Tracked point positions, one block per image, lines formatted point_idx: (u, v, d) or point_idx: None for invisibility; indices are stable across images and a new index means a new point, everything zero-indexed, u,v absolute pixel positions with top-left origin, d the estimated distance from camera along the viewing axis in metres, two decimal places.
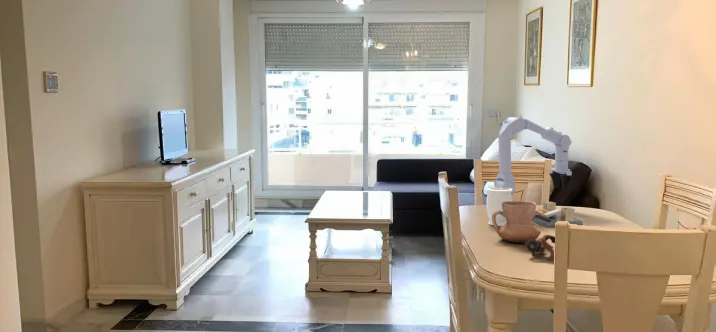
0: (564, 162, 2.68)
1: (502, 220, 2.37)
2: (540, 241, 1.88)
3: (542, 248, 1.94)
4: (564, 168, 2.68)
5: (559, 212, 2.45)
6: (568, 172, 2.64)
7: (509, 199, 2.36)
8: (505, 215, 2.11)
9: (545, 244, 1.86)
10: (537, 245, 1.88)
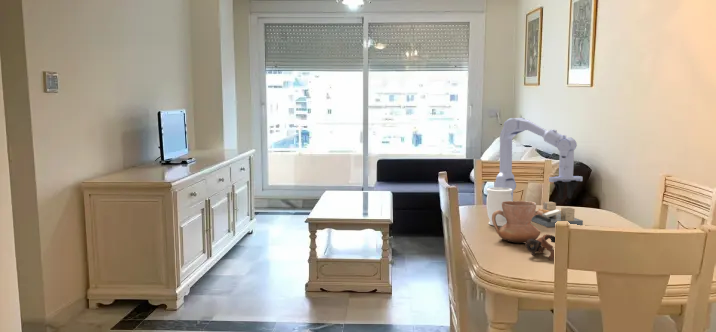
0: (559, 168, 2.44)
1: (502, 220, 2.37)
2: (540, 241, 1.89)
3: (542, 248, 1.95)
4: (559, 175, 2.45)
5: (559, 212, 2.45)
6: (549, 178, 2.44)
7: (509, 199, 2.36)
8: (505, 215, 2.11)
9: (545, 243, 1.87)
10: (537, 245, 1.88)
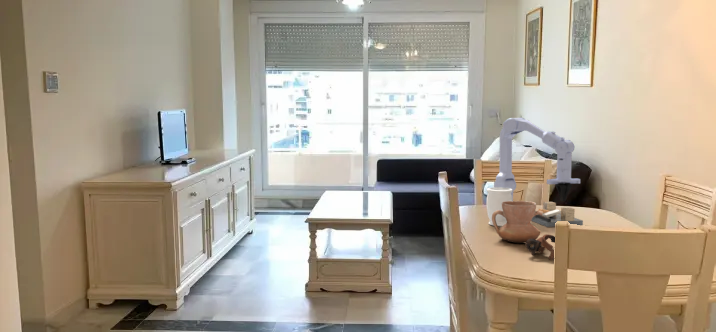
0: (557, 170, 2.44)
1: (502, 220, 2.37)
2: (540, 240, 1.89)
3: (542, 247, 1.95)
4: (557, 177, 2.45)
5: (559, 212, 2.45)
6: (547, 180, 2.44)
7: (509, 199, 2.36)
8: (505, 215, 2.11)
9: (545, 243, 1.87)
10: (537, 244, 1.88)
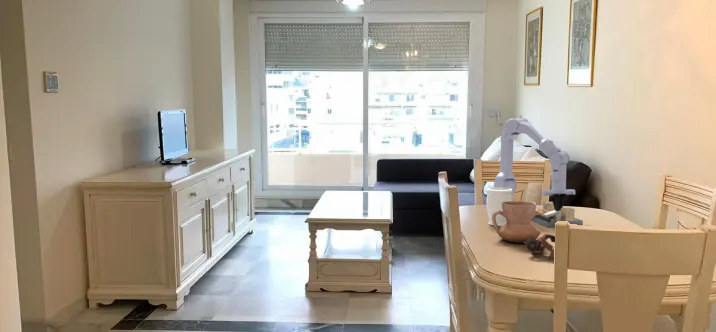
0: (552, 182, 2.44)
1: (502, 220, 2.37)
2: (540, 240, 1.89)
3: (542, 247, 1.95)
4: (552, 188, 2.45)
5: (559, 212, 2.45)
6: (542, 192, 2.44)
7: (509, 199, 2.36)
8: (505, 215, 2.11)
9: (545, 243, 1.87)
10: (537, 244, 1.89)
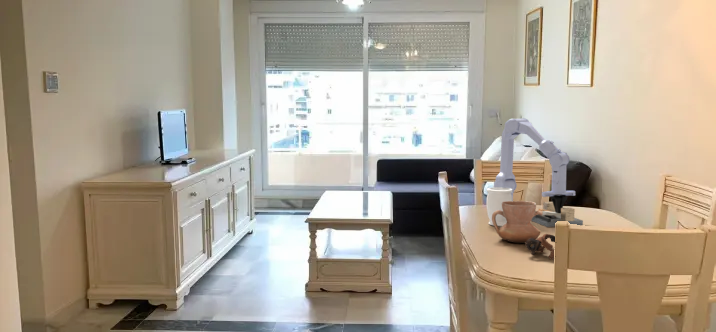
0: (552, 183, 2.44)
1: (502, 220, 2.37)
2: (540, 240, 1.90)
3: (542, 247, 1.96)
4: (552, 189, 2.45)
5: (559, 214, 2.45)
6: (542, 193, 2.44)
7: (509, 199, 2.36)
8: (505, 215, 2.11)
9: (545, 243, 1.87)
10: (537, 244, 1.89)
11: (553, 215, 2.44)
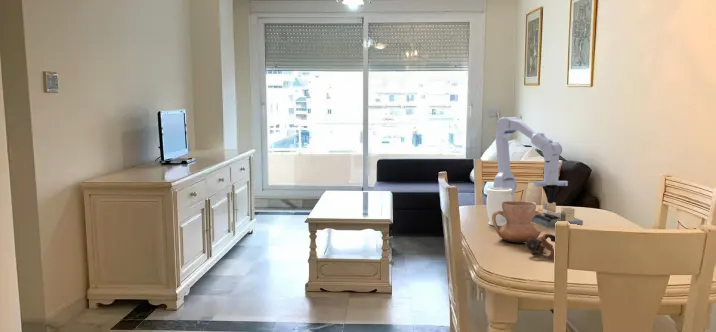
0: (544, 173, 2.45)
1: (502, 220, 2.37)
2: (540, 240, 1.90)
3: (541, 247, 1.96)
4: (544, 179, 2.45)
5: (559, 216, 2.45)
6: (534, 183, 2.45)
7: (509, 199, 2.36)
8: (505, 215, 2.11)
9: (545, 243, 1.88)
10: (537, 244, 1.89)
11: (553, 215, 2.44)
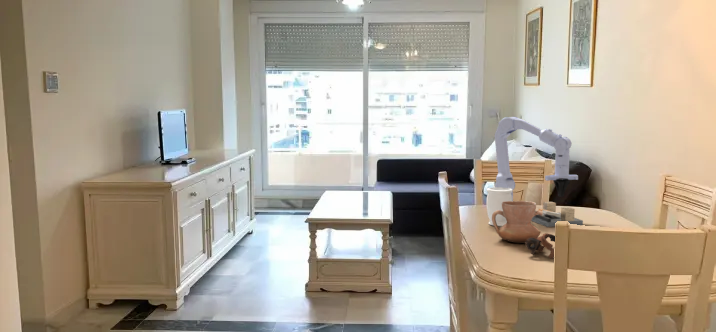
0: (555, 167, 2.50)
1: (502, 220, 2.37)
2: (540, 240, 1.90)
3: (541, 246, 1.96)
4: (555, 173, 2.50)
5: (559, 215, 2.45)
6: (545, 177, 2.50)
7: (509, 199, 2.36)
8: (505, 215, 2.11)
9: (545, 242, 1.88)
10: (537, 244, 1.90)
11: (553, 215, 2.44)
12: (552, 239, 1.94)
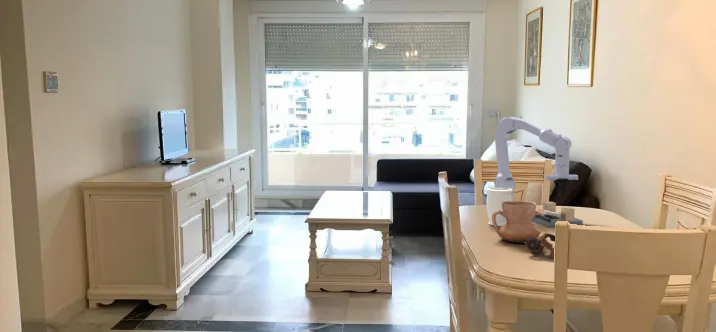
0: (555, 167, 2.50)
1: (502, 220, 2.37)
2: (540, 239, 1.91)
3: (541, 246, 1.97)
4: (555, 173, 2.50)
5: (559, 215, 2.45)
6: (545, 177, 2.50)
7: (509, 199, 2.36)
8: (505, 215, 2.11)
9: (545, 242, 1.89)
10: (537, 243, 1.90)
11: (553, 215, 2.44)
12: (552, 239, 1.94)
